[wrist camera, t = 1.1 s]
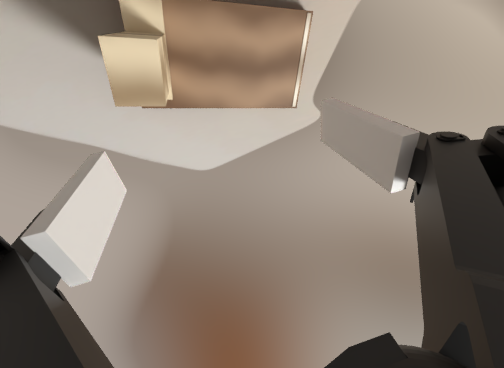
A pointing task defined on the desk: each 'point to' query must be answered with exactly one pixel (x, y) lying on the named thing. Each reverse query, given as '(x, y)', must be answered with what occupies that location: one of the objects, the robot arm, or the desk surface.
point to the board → (234, 54)
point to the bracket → (138, 56)
